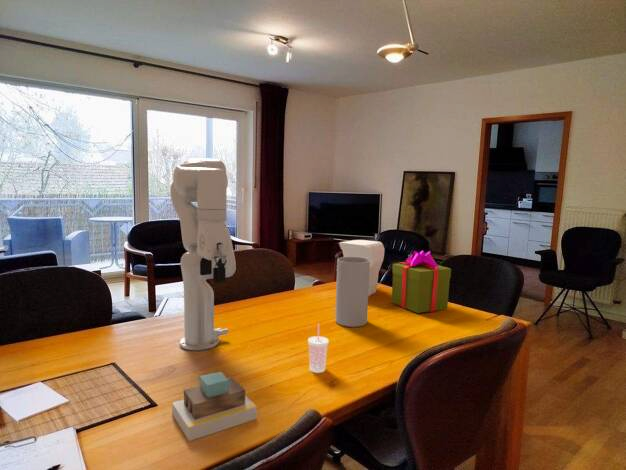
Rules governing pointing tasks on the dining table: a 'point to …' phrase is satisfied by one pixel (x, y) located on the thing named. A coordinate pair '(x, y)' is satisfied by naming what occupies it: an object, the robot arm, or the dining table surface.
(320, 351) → the beverage cup
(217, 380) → the teal block
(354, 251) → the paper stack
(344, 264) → the cylinder vase
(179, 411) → the block
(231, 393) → the pallet
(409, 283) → the gift box
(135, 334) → the dining table surface
